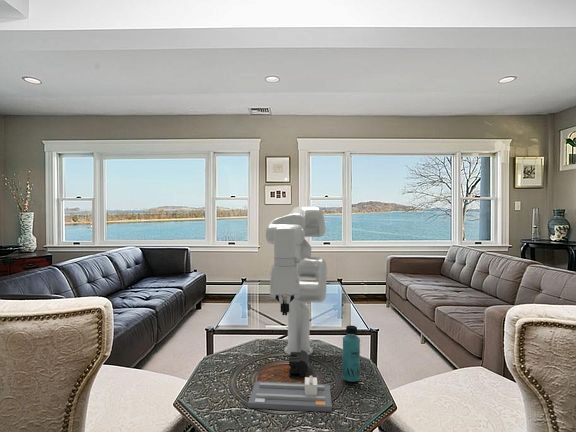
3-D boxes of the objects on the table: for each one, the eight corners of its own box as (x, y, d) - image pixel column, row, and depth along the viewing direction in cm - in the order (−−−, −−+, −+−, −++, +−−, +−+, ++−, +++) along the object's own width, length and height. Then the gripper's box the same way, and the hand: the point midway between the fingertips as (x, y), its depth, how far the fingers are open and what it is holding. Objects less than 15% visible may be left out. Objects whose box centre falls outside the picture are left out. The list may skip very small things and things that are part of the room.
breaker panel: (255, 385, 122) (255, 378, 122) (329, 388, 120) (329, 381, 120) (248, 407, 108) (248, 399, 108) (331, 411, 106) (332, 403, 106)
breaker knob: (304, 389, 116) (305, 375, 116) (316, 389, 116) (317, 375, 116) (304, 396, 111) (304, 382, 111) (317, 397, 111) (317, 383, 111)
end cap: (308, 378, 127) (308, 360, 127) (288, 378, 128) (288, 359, 128) (308, 367, 137) (308, 350, 137) (290, 366, 138) (291, 349, 138)
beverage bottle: (337, 380, 126) (338, 326, 126) (349, 375, 130) (350, 322, 130) (352, 387, 121) (352, 330, 121) (363, 382, 125) (364, 326, 125)
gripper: (306, 260, 123) (306, 311, 124) (264, 259, 124) (265, 310, 125) (306, 264, 116) (306, 318, 116) (262, 263, 116) (262, 317, 117)
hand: (284, 314), depth 121 cm, fingers closed
